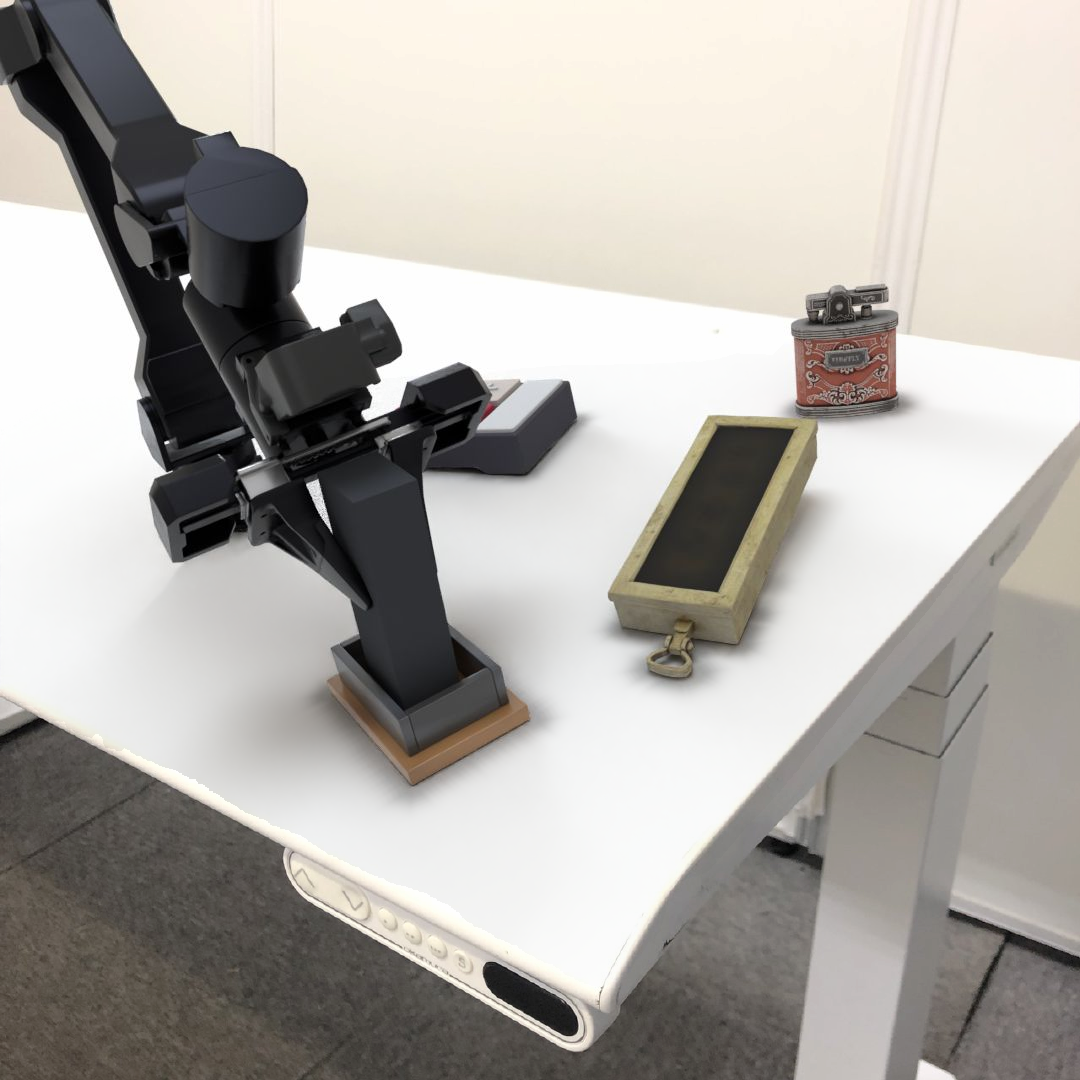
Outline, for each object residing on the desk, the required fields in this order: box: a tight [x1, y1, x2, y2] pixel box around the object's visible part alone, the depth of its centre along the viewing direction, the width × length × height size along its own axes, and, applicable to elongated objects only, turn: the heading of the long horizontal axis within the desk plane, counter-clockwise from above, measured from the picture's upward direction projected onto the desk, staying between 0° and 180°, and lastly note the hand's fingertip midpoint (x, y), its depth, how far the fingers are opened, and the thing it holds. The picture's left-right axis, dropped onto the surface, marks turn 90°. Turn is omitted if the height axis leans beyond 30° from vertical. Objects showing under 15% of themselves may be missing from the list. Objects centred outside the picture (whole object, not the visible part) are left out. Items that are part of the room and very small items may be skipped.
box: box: [607, 414, 819, 678], centre depth 65 cm, size 8×22×5 cm, turn 154°
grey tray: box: [326, 622, 531, 786], centre depth 59 cm, size 11×8×4 cm
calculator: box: [394, 378, 578, 475], centre depth 90 cm, size 11×4×15 cm
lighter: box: [790, 283, 899, 419], centre depth 82 cm, size 8×3×10 cm, turn 80°
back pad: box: [317, 451, 460, 712], centre depth 56 cm, size 5×4×13 cm
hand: (401, 592), depth 54 cm, fingers closed on back pad, 3 cm apart
